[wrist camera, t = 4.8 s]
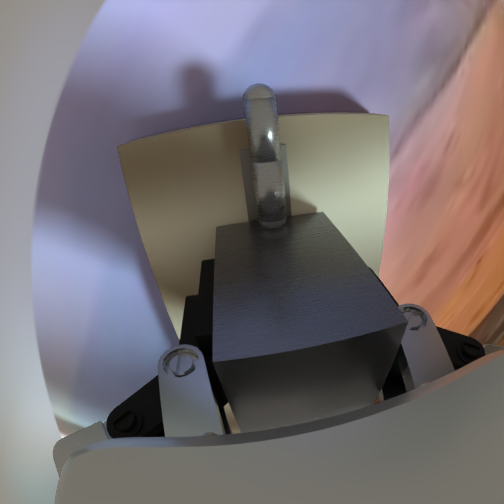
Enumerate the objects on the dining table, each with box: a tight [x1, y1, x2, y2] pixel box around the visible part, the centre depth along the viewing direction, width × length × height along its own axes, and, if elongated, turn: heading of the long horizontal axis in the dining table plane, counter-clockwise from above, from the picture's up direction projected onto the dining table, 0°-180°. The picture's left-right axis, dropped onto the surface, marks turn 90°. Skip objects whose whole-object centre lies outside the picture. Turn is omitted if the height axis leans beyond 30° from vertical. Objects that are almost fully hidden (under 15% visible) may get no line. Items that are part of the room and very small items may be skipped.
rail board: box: [117, 113, 390, 434], centre depth 16 cm, size 26×10×2 cm, turn 7°
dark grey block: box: [213, 84, 408, 433], centre depth 8 cm, size 10×4×6 cm, turn 7°
